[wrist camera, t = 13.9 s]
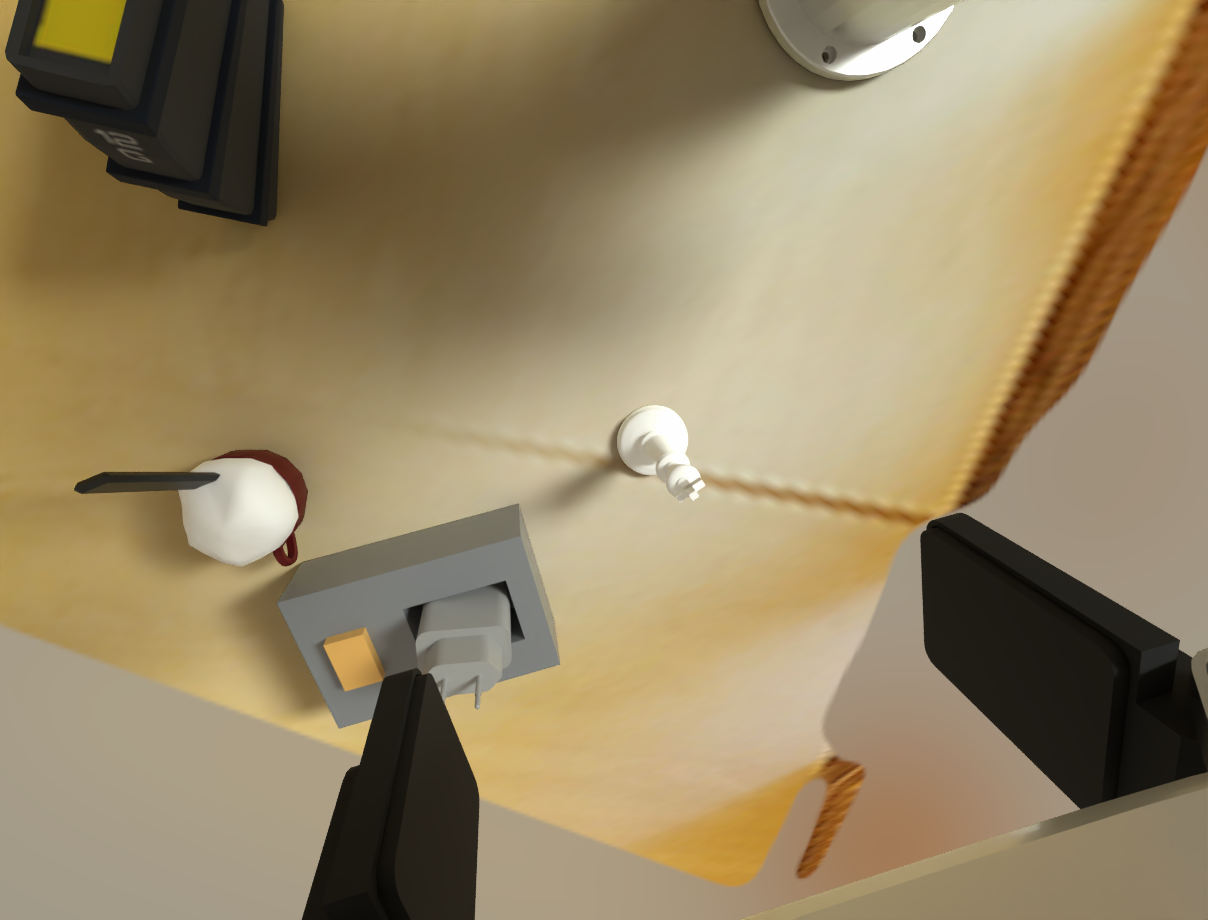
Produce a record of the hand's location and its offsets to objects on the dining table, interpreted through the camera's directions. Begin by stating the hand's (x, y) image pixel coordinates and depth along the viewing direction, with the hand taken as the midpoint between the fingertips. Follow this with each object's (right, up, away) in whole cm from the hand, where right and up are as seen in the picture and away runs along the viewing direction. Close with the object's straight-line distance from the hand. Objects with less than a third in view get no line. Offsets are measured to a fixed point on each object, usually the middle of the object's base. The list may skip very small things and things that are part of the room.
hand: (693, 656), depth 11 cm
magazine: (-20, +23, +21) cm, 37 cm away
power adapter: (-11, -5, +32) cm, 34 cm away
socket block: (-14, -6, +32) cm, 36 cm away
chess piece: (+2, +5, +31) cm, 32 cm away
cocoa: (-23, +3, +28) cm, 37 cm away
